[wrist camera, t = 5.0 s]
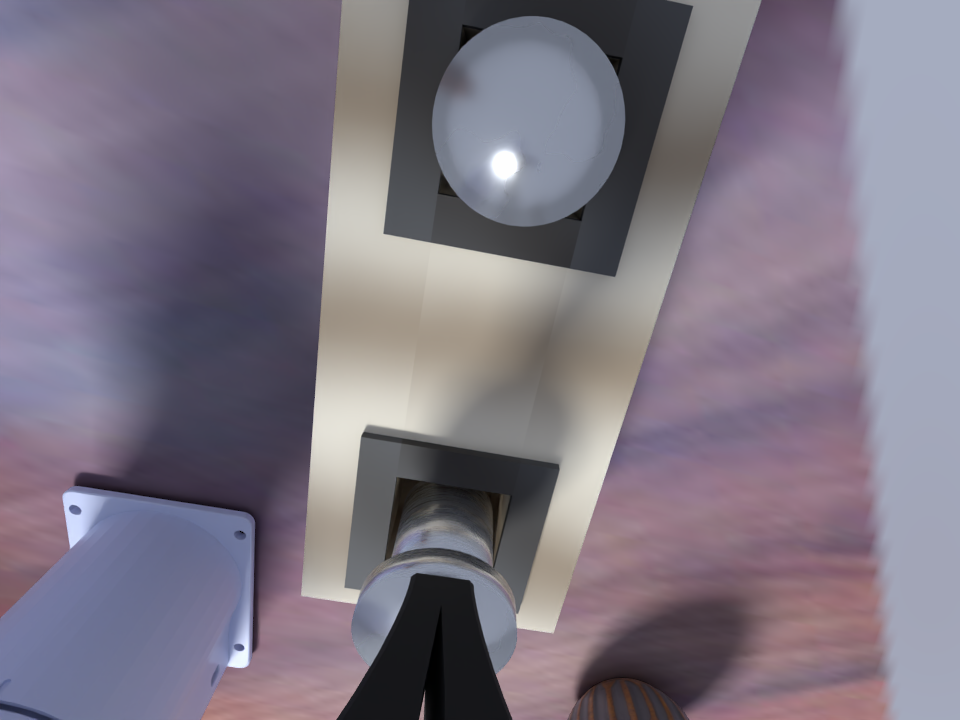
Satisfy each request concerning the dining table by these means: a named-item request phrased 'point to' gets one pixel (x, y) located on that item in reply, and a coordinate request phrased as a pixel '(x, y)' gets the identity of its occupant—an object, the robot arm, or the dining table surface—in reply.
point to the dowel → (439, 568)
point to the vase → (625, 702)
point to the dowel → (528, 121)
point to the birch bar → (495, 289)
